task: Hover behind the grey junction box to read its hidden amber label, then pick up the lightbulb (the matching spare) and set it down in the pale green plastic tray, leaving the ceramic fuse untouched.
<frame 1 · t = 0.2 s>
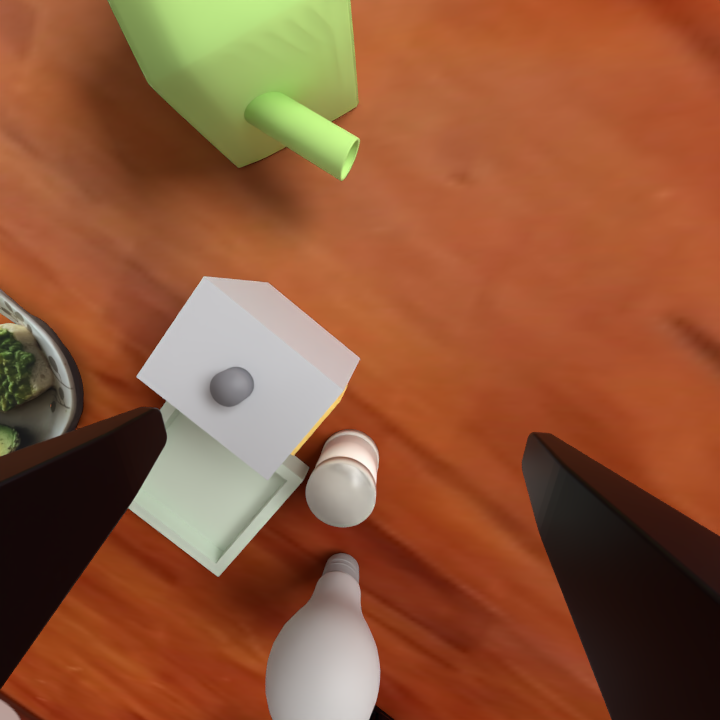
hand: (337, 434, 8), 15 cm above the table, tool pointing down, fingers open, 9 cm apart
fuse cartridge: (350, 456, 25), on the table
gearbox: (283, 62, 21), on the table
lightbulb: (344, 558, 27), on the table
tray: (213, 472, 26), on the table
junction box: (288, 354, 24), on the table
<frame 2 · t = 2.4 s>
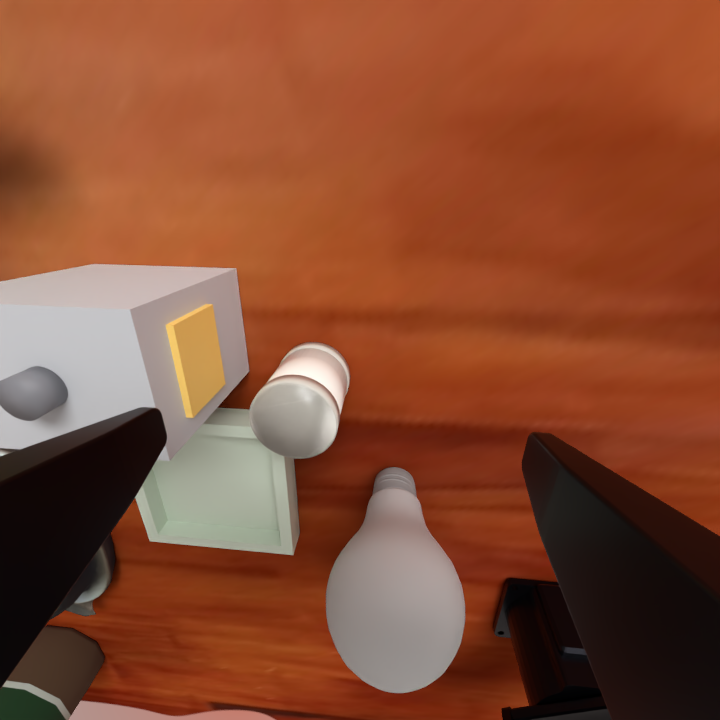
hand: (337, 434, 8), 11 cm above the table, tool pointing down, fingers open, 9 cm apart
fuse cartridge: (315, 374, 20), on the table
lightbulb: (394, 472, 23), on the table
tray: (220, 472, 24), on the table
beer bottle: (72, 643, 36), on the table
junction box: (175, 320, 20), on the table
salad plate: (29, 516, 29), on the table
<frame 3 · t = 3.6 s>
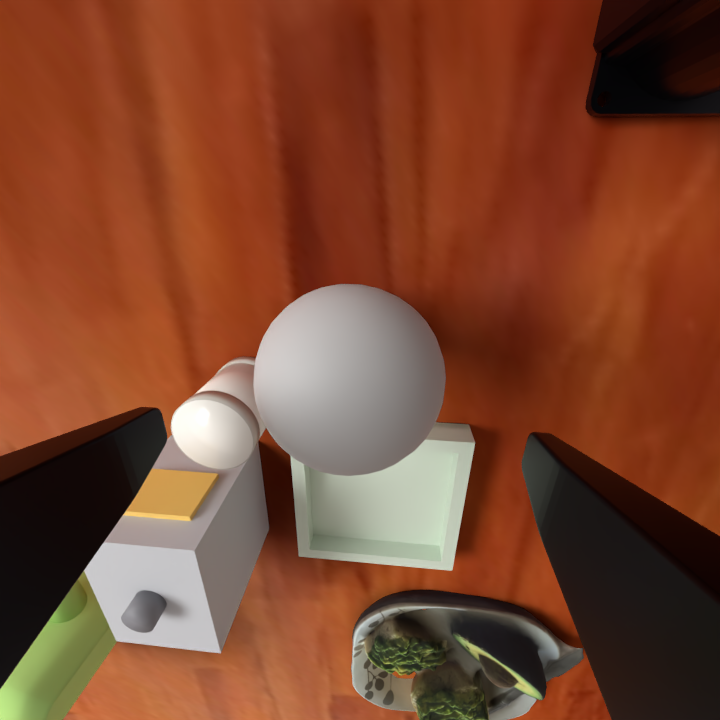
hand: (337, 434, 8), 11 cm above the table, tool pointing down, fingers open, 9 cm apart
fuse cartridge: (251, 387, 21), on the table
gearbox: (90, 566, 30), on the table
lightbulb: (367, 311, 19), on the table
tray: (377, 485, 23), on the table
junction box: (223, 484, 25), on the table
salad plate: (450, 642, 31), on the table
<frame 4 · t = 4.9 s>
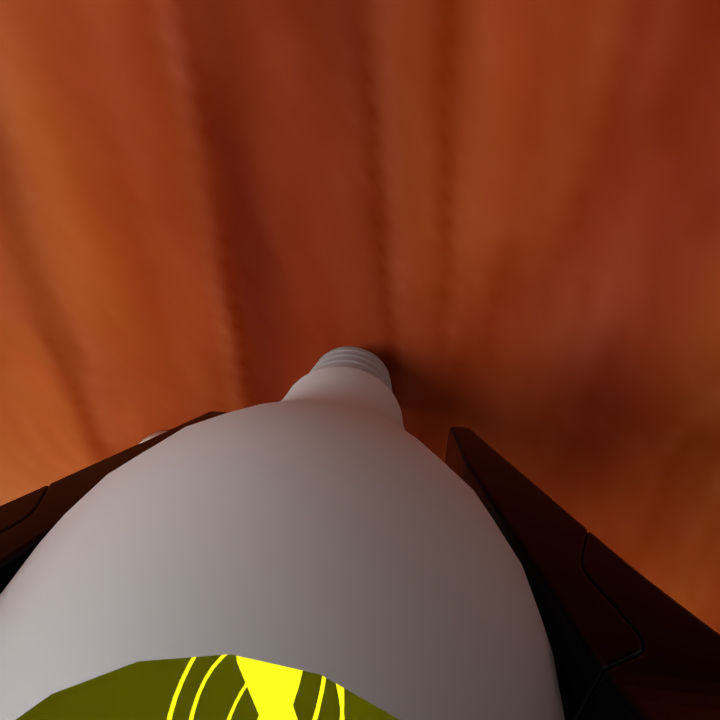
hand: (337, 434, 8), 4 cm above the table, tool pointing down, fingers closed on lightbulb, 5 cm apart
lightbulb: (354, 369, 12), on the table, touching gripper
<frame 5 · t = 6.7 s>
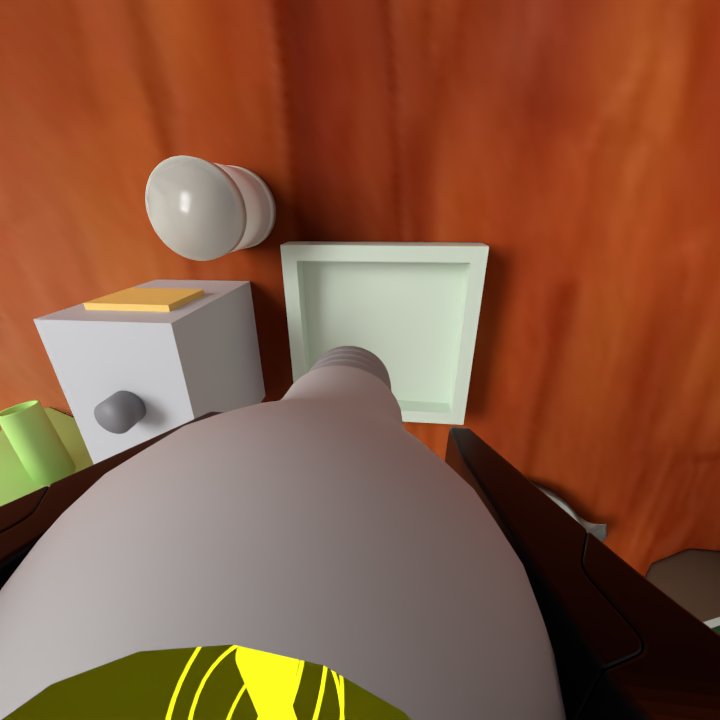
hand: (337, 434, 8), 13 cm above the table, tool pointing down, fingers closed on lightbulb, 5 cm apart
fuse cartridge: (240, 208, 19), on the table
gearbox: (82, 457, 29), on the table
lightbulb: (353, 368, 12), point 10 cm above the table, touching gripper
tray: (381, 331, 21), on the table
beer bottle: (689, 576, 28), on the table
junction box: (214, 341, 23), on the table
salad plate: (461, 535, 29), on the table
when the fingers open (6 cm above the table, at t = 8.6 s): lightbulb drops 2 cm, resting on tray.
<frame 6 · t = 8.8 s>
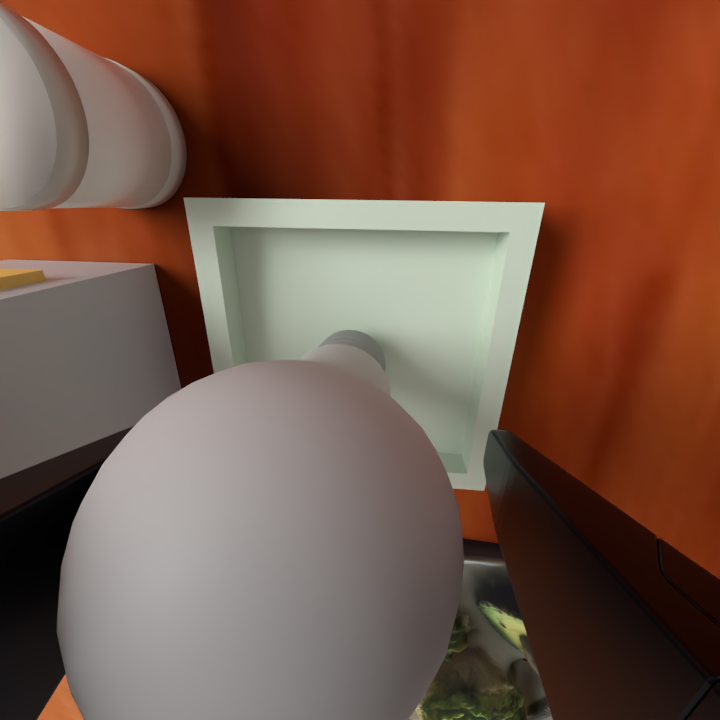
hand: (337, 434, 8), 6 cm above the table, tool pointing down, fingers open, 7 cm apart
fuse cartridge: (127, 142, 12), on the table
lightbulb: (355, 351, 13), resting on tray
tray: (359, 346, 14), on the table
junction box: (109, 355, 15), on the table
salad plate: (470, 621, 21), on the table
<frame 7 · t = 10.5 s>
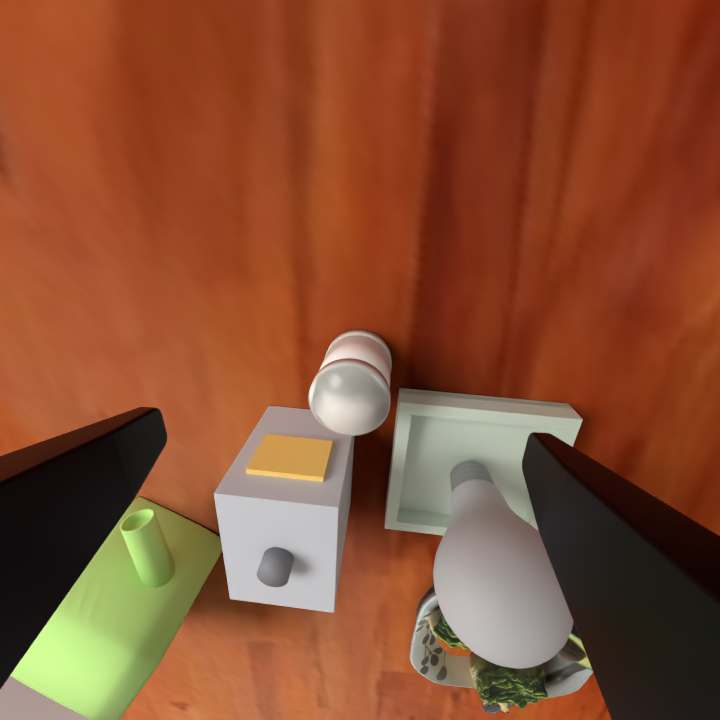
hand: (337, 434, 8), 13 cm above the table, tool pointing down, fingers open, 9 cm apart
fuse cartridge: (359, 360, 22), on the table
gearbox: (160, 538, 31), on the table
lightbulb: (466, 465, 24), resting on tray
tray: (467, 461, 24), on the table
junction box: (312, 456, 25), on the table
salad plate: (507, 620, 32), on the table
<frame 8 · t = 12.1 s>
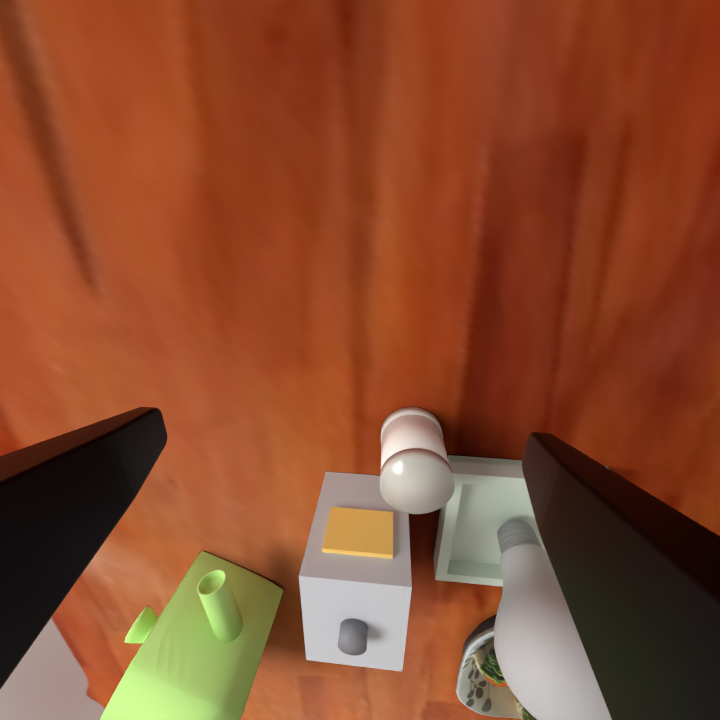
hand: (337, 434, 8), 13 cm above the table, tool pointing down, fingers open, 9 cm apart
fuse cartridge: (410, 432, 24), on the table
gearbox: (219, 585, 33), on the table
lightbulb: (511, 521, 26), resting on tray
tray: (511, 516, 26), on the table
junction box: (365, 514, 27), on the table
salad plate: (549, 654, 33), on the table
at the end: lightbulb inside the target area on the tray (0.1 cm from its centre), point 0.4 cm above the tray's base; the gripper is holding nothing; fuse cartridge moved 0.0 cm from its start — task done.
